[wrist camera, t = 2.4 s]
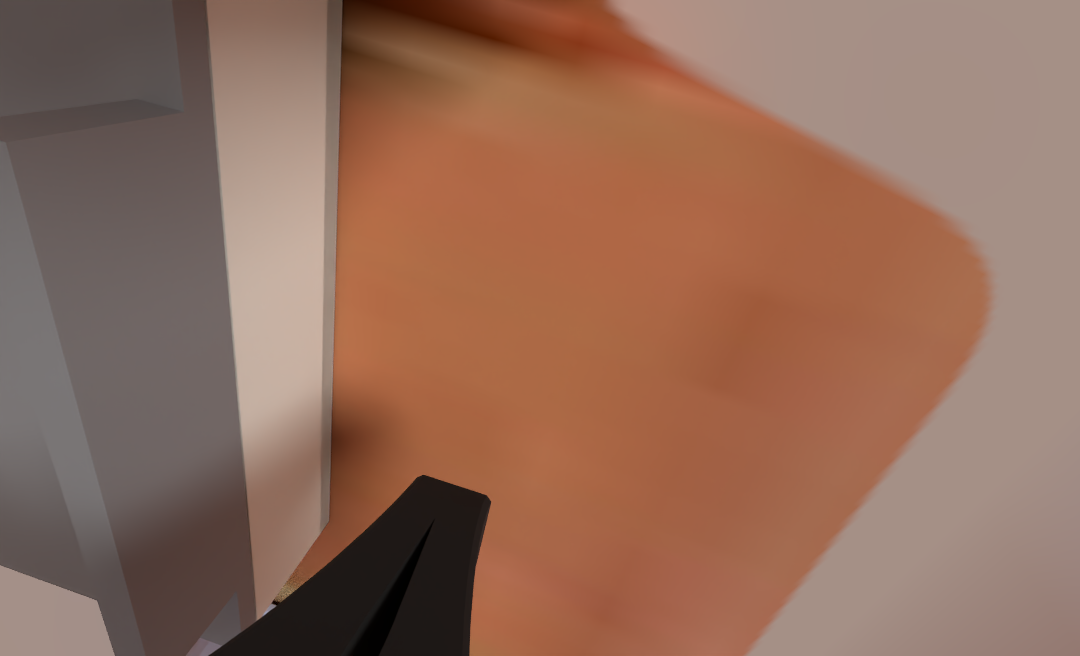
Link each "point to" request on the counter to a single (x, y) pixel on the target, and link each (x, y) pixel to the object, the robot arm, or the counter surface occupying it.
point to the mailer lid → (118, 323)
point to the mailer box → (279, 259)
